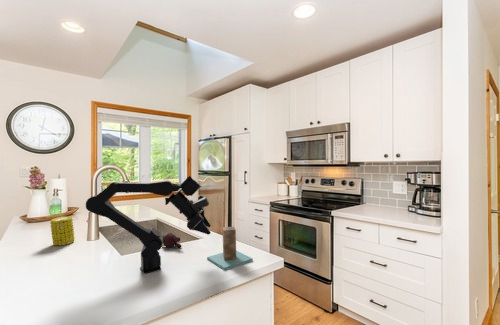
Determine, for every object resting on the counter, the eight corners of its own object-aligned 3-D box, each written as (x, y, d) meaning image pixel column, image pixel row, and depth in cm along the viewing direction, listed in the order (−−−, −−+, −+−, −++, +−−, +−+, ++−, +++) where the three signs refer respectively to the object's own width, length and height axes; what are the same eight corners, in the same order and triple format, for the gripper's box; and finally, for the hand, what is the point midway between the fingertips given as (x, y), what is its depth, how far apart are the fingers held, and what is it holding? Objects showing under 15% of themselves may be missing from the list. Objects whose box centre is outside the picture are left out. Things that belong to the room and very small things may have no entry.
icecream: (152, 234, 127) (173, 241, 119) (163, 227, 133) (184, 233, 126) (154, 246, 129) (176, 254, 121) (165, 238, 135) (186, 245, 127)
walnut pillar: (224, 260, 105) (223, 230, 105) (223, 256, 110) (222, 227, 110) (236, 259, 106) (235, 229, 106) (234, 255, 111) (234, 226, 111)
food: (78, 243, 140) (61, 251, 130) (60, 238, 141) (42, 245, 131) (81, 217, 138) (65, 222, 128) (63, 211, 140) (45, 217, 130)
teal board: (224, 270, 98) (224, 267, 98) (207, 259, 110) (207, 257, 110) (252, 260, 107) (252, 258, 107) (234, 251, 118) (234, 249, 118)
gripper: (196, 194, 96) (225, 223, 98) (198, 187, 114) (222, 210, 117) (174, 215, 95) (204, 243, 97) (180, 204, 113) (205, 228, 116)
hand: (209, 230), depth 107 cm, fingers open, 9 cm apart
